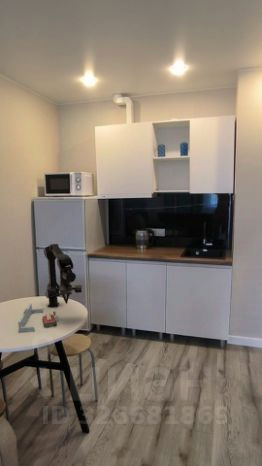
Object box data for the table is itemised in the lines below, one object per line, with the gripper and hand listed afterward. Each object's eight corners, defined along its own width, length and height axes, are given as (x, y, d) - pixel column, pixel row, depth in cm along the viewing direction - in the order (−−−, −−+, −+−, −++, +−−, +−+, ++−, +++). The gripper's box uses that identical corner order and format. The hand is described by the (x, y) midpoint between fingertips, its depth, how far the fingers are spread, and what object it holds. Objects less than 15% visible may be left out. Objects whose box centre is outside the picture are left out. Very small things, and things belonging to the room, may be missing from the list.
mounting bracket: (30, 312, 199) (29, 302, 198) (43, 312, 200) (42, 301, 199) (19, 332, 173) (18, 320, 172) (34, 331, 174) (33, 319, 173)
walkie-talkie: (60, 326, 179) (55, 313, 198) (59, 319, 179) (55, 306, 197) (44, 329, 176) (41, 316, 195) (43, 322, 176) (40, 309, 194)
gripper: (46, 282, 175) (48, 309, 178) (80, 281, 177) (81, 307, 179) (49, 276, 186) (51, 302, 189) (81, 275, 188) (82, 300, 190)
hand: (66, 303), depth 187 cm, fingers closed
